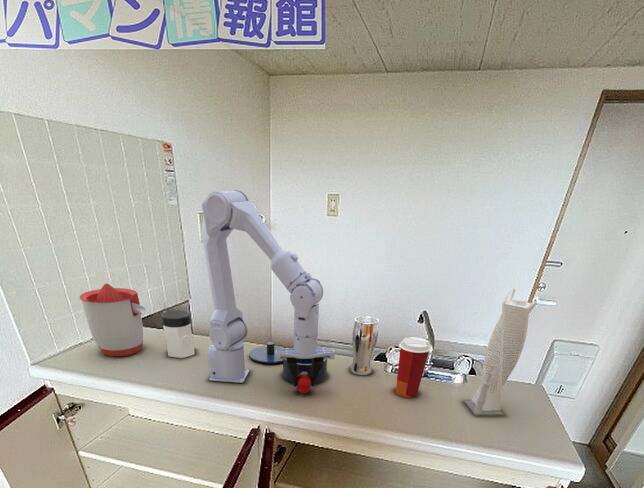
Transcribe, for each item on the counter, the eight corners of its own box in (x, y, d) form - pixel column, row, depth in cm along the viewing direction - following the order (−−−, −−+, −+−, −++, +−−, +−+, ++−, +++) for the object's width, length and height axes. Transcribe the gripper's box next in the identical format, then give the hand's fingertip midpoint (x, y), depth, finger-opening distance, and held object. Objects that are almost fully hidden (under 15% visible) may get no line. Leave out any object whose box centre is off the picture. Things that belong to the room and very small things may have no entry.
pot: (280, 383, 110) (279, 363, 107) (286, 365, 120) (286, 346, 117) (324, 386, 109) (325, 366, 106) (327, 368, 119) (328, 349, 116)
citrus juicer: (144, 361, 120) (129, 291, 109) (86, 359, 120) (65, 289, 109) (160, 342, 133) (148, 278, 121) (107, 340, 133) (90, 276, 121)
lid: (245, 363, 120) (244, 349, 118) (254, 347, 131) (253, 334, 129) (288, 366, 119) (288, 352, 117) (294, 350, 130) (294, 337, 128)
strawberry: (294, 392, 104) (295, 376, 101) (296, 385, 107) (297, 369, 105) (310, 394, 104) (311, 377, 101) (312, 386, 107) (313, 370, 104)
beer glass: (372, 377, 115) (379, 325, 106) (347, 374, 116) (353, 322, 107) (373, 367, 120) (380, 317, 112) (350, 365, 121) (355, 315, 113)
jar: (175, 360, 121) (168, 320, 114) (162, 352, 126) (154, 314, 119) (201, 353, 126) (196, 314, 119) (187, 346, 131) (181, 308, 124)
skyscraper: (461, 399, 105) (494, 286, 89) (491, 399, 105) (529, 287, 89) (475, 415, 98) (513, 297, 82) (507, 415, 99) (551, 297, 82)
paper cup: (422, 389, 109) (433, 338, 101) (419, 401, 103) (430, 349, 95) (393, 384, 111) (402, 334, 103) (389, 396, 105) (397, 344, 97)
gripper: (332, 327, 101) (329, 377, 109) (274, 328, 99) (275, 378, 107) (337, 337, 95) (333, 389, 103) (276, 338, 94) (276, 390, 101)
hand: (304, 384), depth 105 cm, fingers closed on strawberry, 4 cm apart
